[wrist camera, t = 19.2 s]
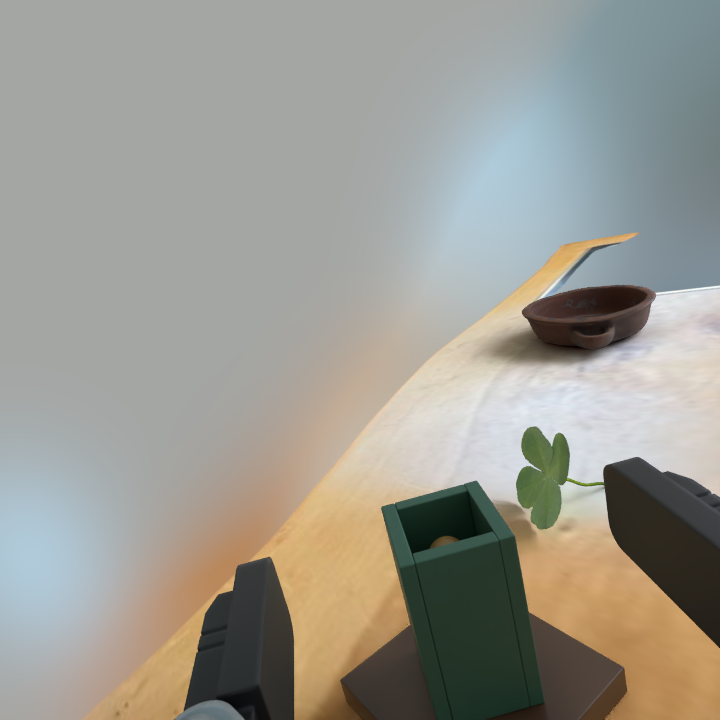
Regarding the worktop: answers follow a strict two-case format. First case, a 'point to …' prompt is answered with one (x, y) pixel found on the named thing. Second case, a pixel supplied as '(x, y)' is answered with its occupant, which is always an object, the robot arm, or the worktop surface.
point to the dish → (590, 315)
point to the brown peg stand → (555, 716)
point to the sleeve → (465, 603)
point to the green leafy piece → (544, 476)
